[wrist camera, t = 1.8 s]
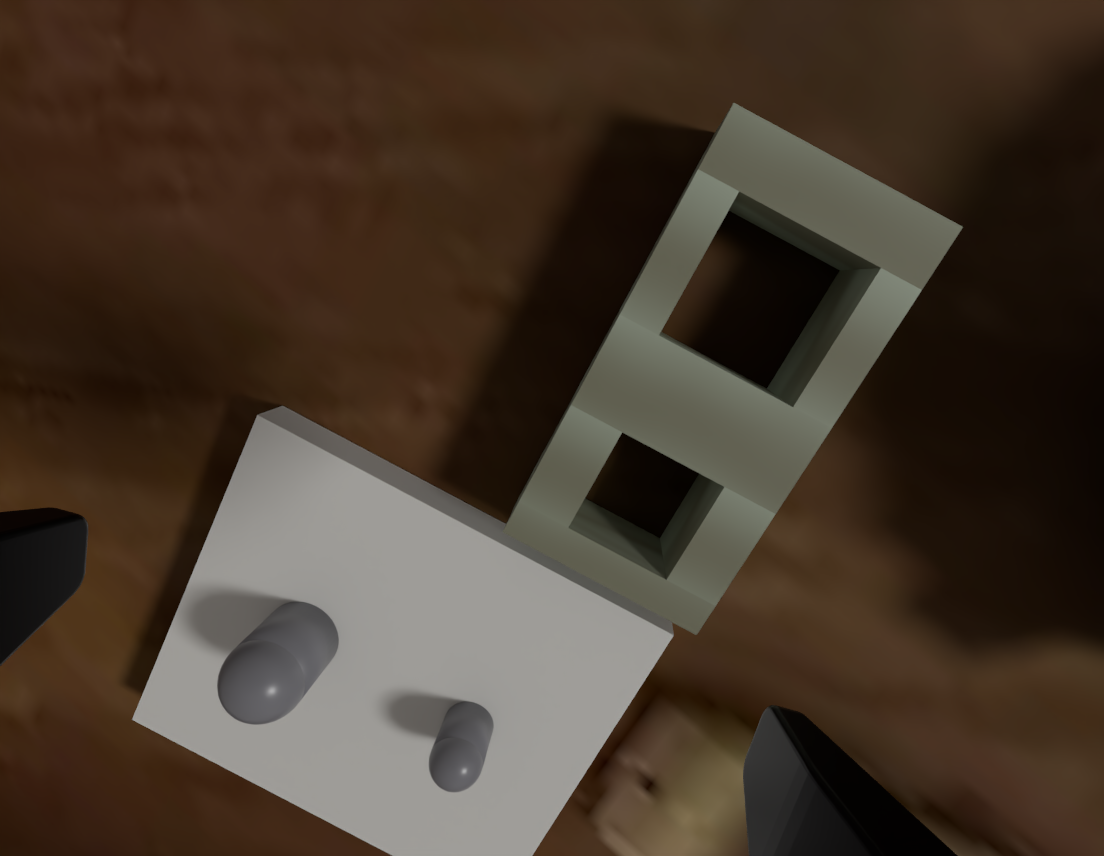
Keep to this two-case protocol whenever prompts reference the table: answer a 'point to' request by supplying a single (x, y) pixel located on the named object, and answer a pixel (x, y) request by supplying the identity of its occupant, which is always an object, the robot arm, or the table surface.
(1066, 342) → the table surface
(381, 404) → the table surface
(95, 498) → the table surface
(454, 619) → the post board
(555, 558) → the bar
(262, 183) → the table surface
